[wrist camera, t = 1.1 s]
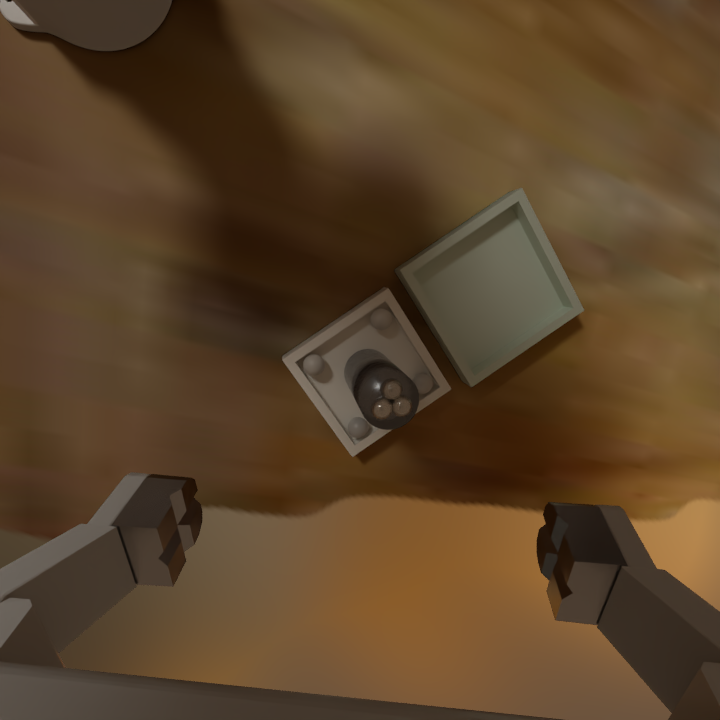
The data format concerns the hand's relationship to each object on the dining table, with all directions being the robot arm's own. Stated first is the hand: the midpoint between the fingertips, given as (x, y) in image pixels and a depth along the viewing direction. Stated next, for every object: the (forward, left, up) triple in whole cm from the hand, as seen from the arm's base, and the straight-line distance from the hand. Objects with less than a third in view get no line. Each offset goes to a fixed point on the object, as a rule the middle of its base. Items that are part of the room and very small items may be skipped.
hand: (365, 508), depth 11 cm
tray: (+9, +3, -43) cm, 44 cm away
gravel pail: (+9, +3, -42) cm, 43 cm away
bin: (+9, +20, -43) cm, 48 cm away
